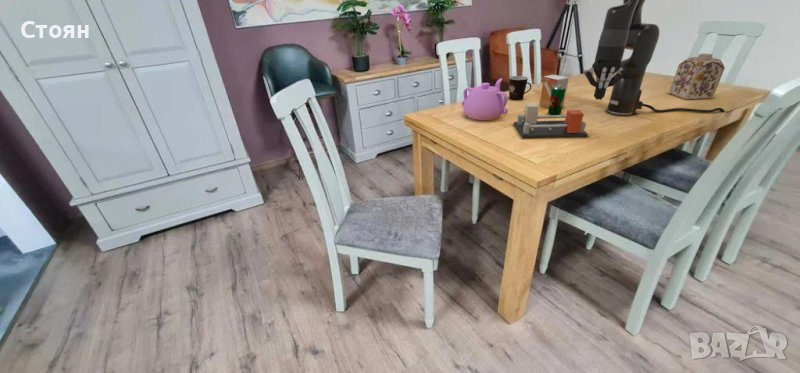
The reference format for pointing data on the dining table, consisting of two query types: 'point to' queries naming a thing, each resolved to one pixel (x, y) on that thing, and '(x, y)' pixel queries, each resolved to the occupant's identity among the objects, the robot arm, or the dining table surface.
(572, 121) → the terracotta marker
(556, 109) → the soda can
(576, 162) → the dining table surface
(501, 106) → the teapot
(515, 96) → the coffee mug
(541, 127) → the score rack
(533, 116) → the ivory marker
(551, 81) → the small box
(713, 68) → the decorative jar
